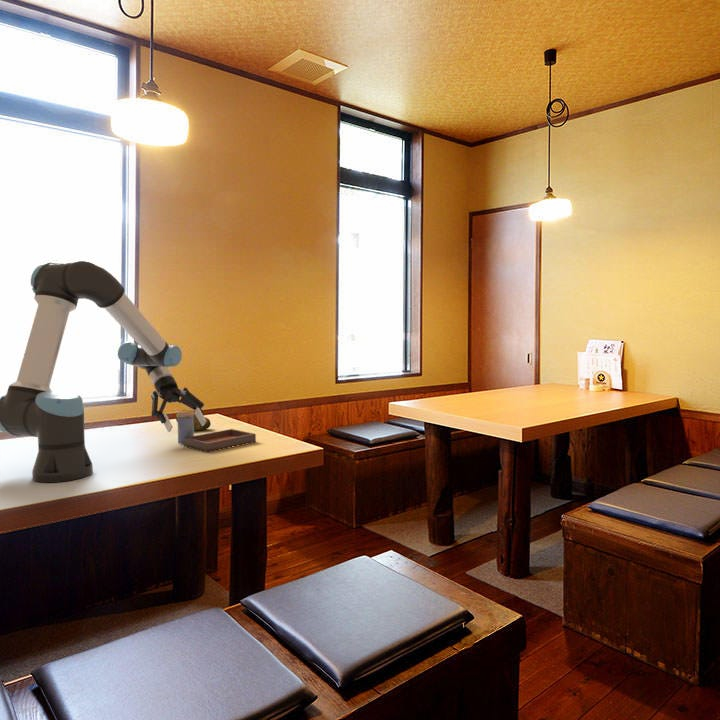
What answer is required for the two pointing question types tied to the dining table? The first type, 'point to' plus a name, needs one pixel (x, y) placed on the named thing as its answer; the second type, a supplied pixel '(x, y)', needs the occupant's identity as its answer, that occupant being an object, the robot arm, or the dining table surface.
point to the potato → (197, 424)
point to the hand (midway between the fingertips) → (187, 426)
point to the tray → (219, 440)
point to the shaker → (185, 425)
